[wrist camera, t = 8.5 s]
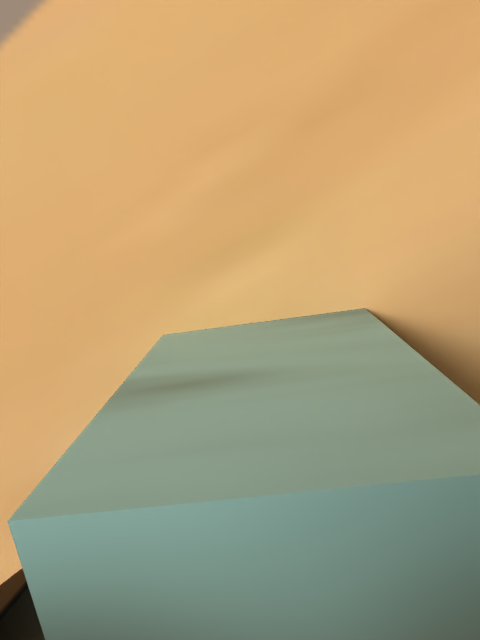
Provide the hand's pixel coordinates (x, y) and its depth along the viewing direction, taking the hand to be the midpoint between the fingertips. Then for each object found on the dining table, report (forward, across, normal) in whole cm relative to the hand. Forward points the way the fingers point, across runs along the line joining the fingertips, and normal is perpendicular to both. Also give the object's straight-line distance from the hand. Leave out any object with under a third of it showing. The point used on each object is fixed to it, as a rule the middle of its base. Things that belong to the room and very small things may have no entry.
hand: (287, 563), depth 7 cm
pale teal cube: (+6, 0, 0) cm, 6 cm away
